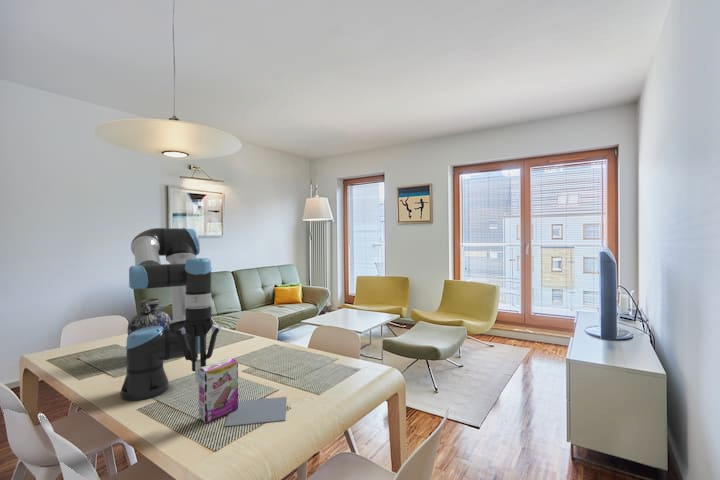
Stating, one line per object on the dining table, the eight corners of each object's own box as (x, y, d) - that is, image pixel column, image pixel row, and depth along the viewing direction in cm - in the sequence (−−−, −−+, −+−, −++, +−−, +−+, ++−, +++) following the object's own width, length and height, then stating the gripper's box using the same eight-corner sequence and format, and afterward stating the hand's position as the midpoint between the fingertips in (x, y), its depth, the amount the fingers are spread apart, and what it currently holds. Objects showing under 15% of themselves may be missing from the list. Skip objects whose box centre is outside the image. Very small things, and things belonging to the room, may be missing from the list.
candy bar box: (206, 424, 104) (204, 372, 103) (198, 418, 108) (197, 367, 107) (239, 409, 113) (238, 360, 112) (231, 404, 116) (230, 356, 115)
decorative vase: (169, 361, 160) (168, 301, 160) (122, 367, 153) (121, 305, 153) (175, 348, 180) (174, 295, 180) (134, 353, 173) (132, 298, 173)
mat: (224, 427, 103) (224, 426, 103) (233, 402, 119) (233, 401, 119) (285, 420, 106) (285, 419, 106) (286, 397, 122) (286, 396, 122)
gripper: (172, 309, 104) (172, 387, 104) (217, 307, 107) (218, 383, 106) (180, 305, 112) (181, 377, 111) (222, 303, 114) (223, 374, 114)
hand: (199, 380), depth 109 cm, fingers closed
